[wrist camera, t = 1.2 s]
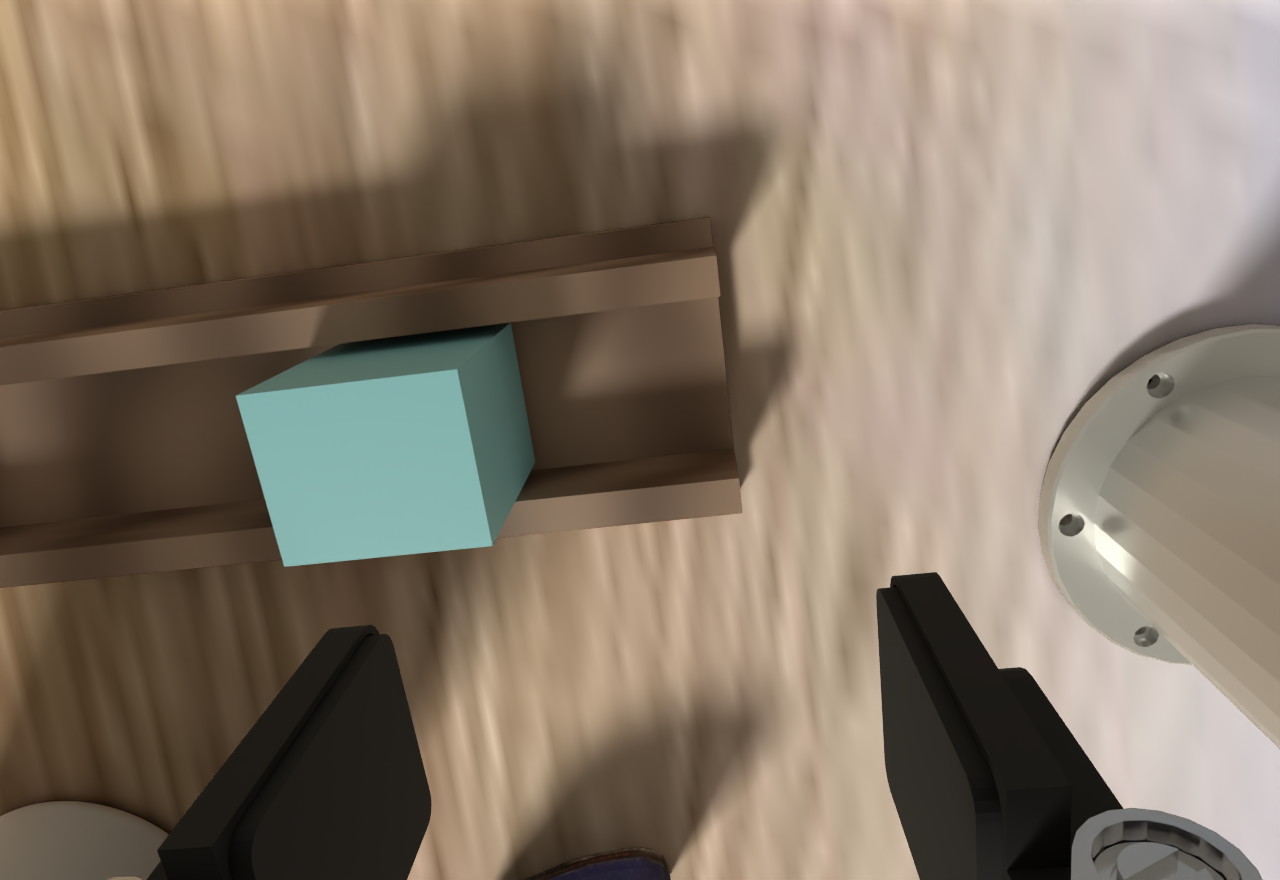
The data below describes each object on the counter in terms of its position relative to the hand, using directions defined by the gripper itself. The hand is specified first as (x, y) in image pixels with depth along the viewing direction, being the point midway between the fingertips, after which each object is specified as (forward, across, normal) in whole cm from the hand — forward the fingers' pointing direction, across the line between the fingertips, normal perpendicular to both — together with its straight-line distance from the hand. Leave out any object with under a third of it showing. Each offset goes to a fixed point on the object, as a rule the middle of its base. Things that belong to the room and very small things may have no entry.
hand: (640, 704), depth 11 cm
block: (+19, +8, 0) cm, 20 cm away
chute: (+20, +13, 0) cm, 24 cm away
